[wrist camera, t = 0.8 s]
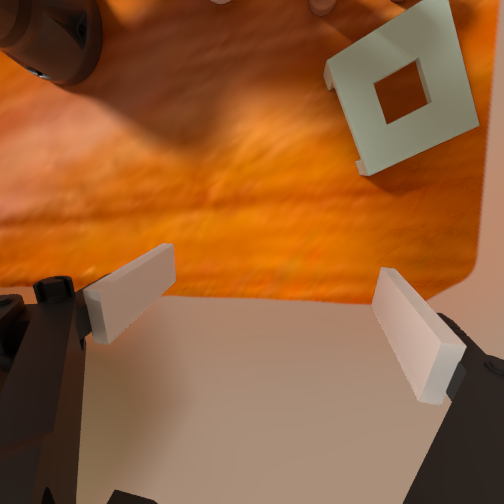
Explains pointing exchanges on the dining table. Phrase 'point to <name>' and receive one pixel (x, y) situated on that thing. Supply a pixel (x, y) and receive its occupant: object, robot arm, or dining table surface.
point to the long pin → (321, 6)
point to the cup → (220, 1)
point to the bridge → (391, 60)
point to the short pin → (397, 1)
